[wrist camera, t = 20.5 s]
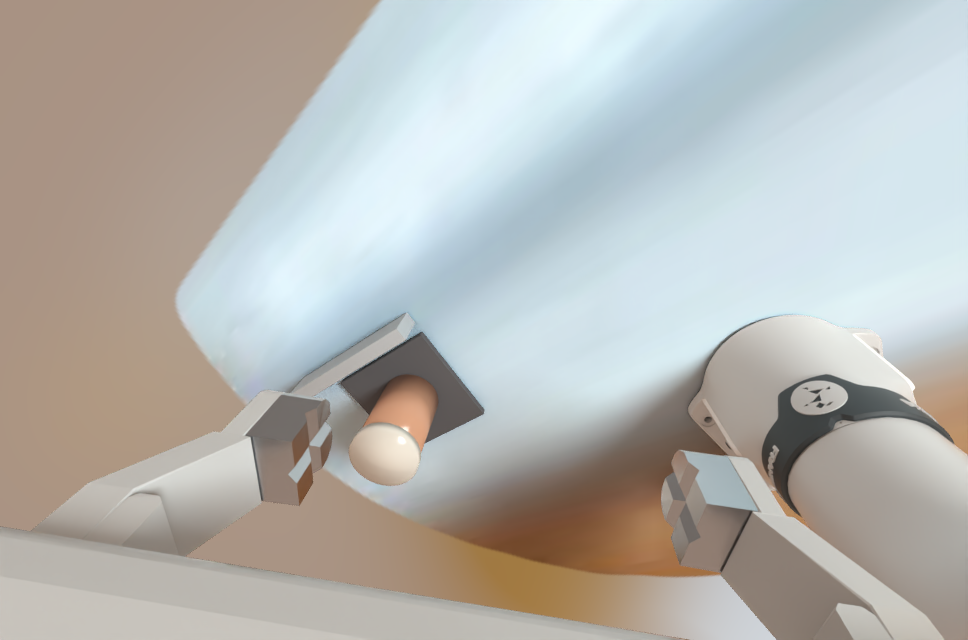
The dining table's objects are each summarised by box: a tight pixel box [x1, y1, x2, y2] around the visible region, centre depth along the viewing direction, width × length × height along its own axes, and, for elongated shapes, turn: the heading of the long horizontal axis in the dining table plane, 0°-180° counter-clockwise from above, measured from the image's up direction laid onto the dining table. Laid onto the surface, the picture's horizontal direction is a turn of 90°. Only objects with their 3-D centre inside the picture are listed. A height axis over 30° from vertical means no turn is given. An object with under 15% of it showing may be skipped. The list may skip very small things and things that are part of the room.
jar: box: [349, 374, 439, 486], centre depth 47 cm, size 7×7×10 cm
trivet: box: [341, 332, 484, 443], centre depth 52 cm, size 12×12×1 cm
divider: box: [291, 313, 415, 397], centre depth 48 cm, size 2×16×4 cm, turn 124°
